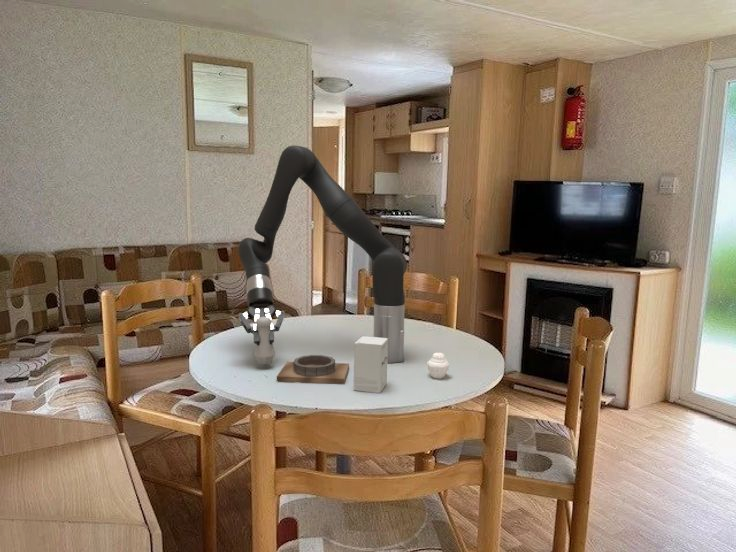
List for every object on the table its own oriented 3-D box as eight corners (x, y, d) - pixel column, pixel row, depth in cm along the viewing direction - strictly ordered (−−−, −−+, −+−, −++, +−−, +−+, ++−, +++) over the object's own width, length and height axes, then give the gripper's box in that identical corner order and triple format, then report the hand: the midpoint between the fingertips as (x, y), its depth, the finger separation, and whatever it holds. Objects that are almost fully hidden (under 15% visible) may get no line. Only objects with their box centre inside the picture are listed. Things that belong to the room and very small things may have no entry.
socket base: (349, 368, 153) (349, 355, 152) (344, 384, 140) (344, 369, 139) (287, 366, 154) (287, 353, 153) (276, 381, 141) (276, 367, 141)
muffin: (436, 371, 151) (437, 347, 150) (453, 377, 147) (454, 352, 146) (421, 376, 147) (422, 351, 146) (438, 382, 143) (439, 356, 142)
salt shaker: (261, 357, 157) (260, 314, 155) (278, 360, 154) (277, 316, 153) (250, 363, 151) (249, 318, 149) (267, 366, 149) (266, 320, 147)
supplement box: (380, 393, 134) (381, 344, 132) (352, 390, 136) (353, 342, 134) (387, 384, 141) (388, 337, 139) (360, 381, 143) (361, 335, 141)
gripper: (235, 287, 155) (239, 338, 145) (284, 285, 159) (290, 335, 149) (235, 301, 161) (238, 352, 151) (282, 299, 165) (288, 348, 155)
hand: (264, 343), depth 150 cm, fingers closed on salt shaker, 3 cm apart
